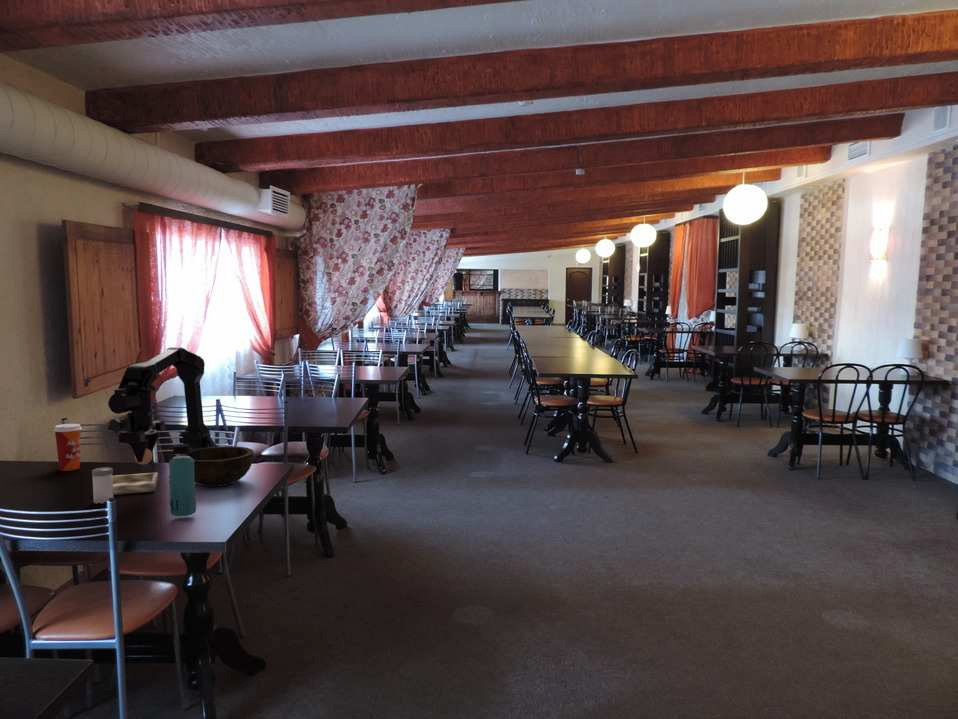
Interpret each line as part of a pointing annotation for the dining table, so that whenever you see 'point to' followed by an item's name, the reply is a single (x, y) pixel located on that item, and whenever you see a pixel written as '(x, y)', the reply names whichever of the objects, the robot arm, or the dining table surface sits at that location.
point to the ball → (146, 457)
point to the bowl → (220, 464)
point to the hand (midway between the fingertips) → (143, 460)
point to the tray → (134, 483)
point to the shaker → (102, 484)
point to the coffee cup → (68, 446)
